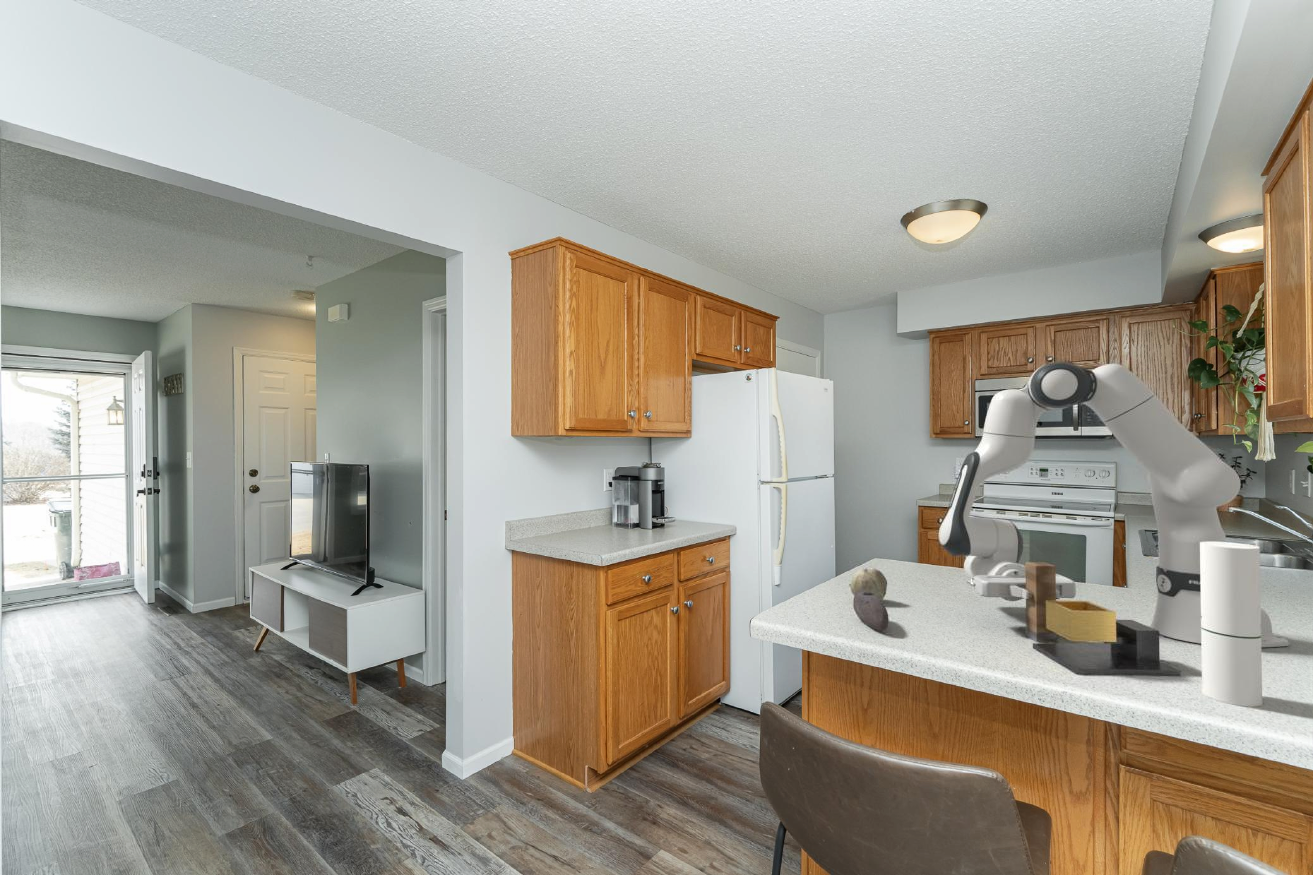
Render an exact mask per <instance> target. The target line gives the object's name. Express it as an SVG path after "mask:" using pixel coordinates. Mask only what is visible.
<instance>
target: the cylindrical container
mask: <svg viewBox="0 0 1313 875" xmlns="http://www.w3.org/2000/svg"><path fill="white" fill-rule="evenodd" d="M1260 548H1261V547H1260V546H1257V545H1252V544H1248V543H1238V542H1231V541H1230V542H1228V541H1226V542H1200V585H1201V643H1200V644H1201V645H1200V646H1201V692H1202V694H1203V693H1204V694H1203V695H1204V696H1206V697H1208V698H1210V697H1211V698H1210V699H1213V700H1216V701H1219V702H1222V703H1226V704H1229V705H1235V706H1241V707H1247V708H1248V707H1251V708H1252V707H1253V708H1254V707H1255V708H1257V707H1262V706H1263V676H1262V674H1263V671H1262V670H1263V668H1262V666H1263V665H1262V664H1263V663H1262V660H1263V659H1262V647H1261V625H1260V624H1261V609H1262V608H1261V557H1260V556H1261V551H1260V550H1261V549H1260Z"/></svg>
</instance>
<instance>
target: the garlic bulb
mask: <svg viewBox="0 0 1313 875" xmlns="http://www.w3.org/2000/svg"><path fill="white" fill-rule="evenodd" d="M848 586H849V587H850V590H851V593H852V595H853V596H854V595H855V593H856V592H857V591H859V590H868V591H870V592H872V593H873V594H875V595H876V596H877V597H878V598H879V599H880V600H881V601H882V600H884V599H885V596H886V595H887V590H888V589H887V588H888V580H887V578H886V576H885V575H884V573H883V572H882V571H880V570H878V569H877V568H874V567H871V568H867V567H865V568H863V569H859V570H857V571H856V572H855V573H854V574H853V575H852V578H851V582H849V583H848Z"/></svg>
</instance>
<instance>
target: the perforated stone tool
mask: <svg viewBox="0 0 1313 875" xmlns="http://www.w3.org/2000/svg"><path fill="white" fill-rule="evenodd" d="M853 610H854V612H855V615H857V617H858V619H859V620H860V621H861V622H862V623H864V625H866V626H868V627H870V628H871V629H872V630H874V631H876V632H885V631H887V628H888V626H889V614H888V610H887V608H886V606H885V604H884V603H883V601H882V600H880V599H879V598H878V597H877V596H876V595H875V594H873V593H872V592H870V591H868V590H859V591H857V592H856V593H855V595H853Z"/></svg>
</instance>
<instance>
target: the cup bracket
mask: <svg viewBox="0 0 1313 875" xmlns="http://www.w3.org/2000/svg"><path fill="white" fill-rule="evenodd" d="M1046 628H1047V629H1049V630H1051V631H1053V632H1055V633H1056V634H1057V636H1060V637H1062V638H1065V639H1067V640H1068V641H1070V642H1087V643H1053V642H1033V643H1032V649H1034V650H1036V651H1037V652H1038V653H1041V654H1042V655H1044V656H1046V657H1047V658H1049V659H1050V660H1052V661H1053V662H1055V663H1057V664H1059V665H1060V666H1062V667H1064V668H1065V669H1067V670H1069V671H1070V672H1072V673H1073V674H1076V675H1090V676H1091V675H1094V676H1095V675H1098V676H1102V675H1103V676H1104V675H1105V676H1108V675H1109V676H1153V677H1154V676H1155V677H1156V676H1159V677H1181V674H1182V671H1181V670H1180V669H1179V668H1176V667H1175V666H1172V665H1169V664H1168V663H1165V662H1163V661H1161V660H1160V659H1161V657H1160V656H1161V654H1160V653H1161V652H1160V634H1159V631H1158V630H1156V629H1153V628H1151V627H1150V626H1149V625H1145V624H1144V623H1141V622H1139V621H1135V620H1134V619H1117V612H1116V611H1113V610H1111V609H1109V608H1106V607H1104V606H1101V605H1099V604H1096V603H1094V602H1091V601H1089V600H1056V601H1046ZM1088 642H1092V643H1088ZM1093 642H1097V643H1093ZM1098 642H1101V643H1098ZM1102 643H1103V644H1102Z"/></svg>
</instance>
